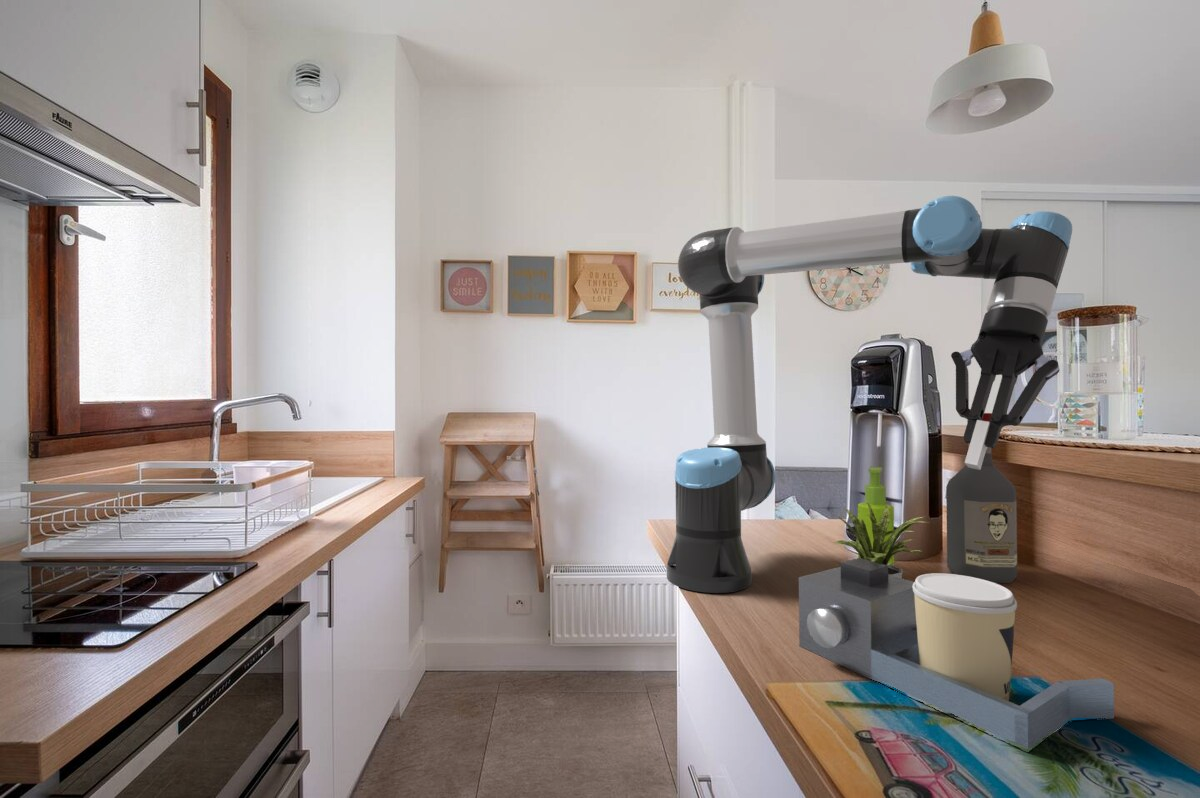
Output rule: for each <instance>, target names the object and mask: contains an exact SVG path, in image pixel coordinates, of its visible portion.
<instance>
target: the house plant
mask: <svg viewBox="0 0 1200 798" xmlns="http://www.w3.org/2000/svg"><path fill="white" fill-rule="evenodd" d="M867 503H868V502H867ZM868 507H869V511H870V515H867V516H869V517H870V519H871V522H872V532H873V538H874V541H873V549H872V546H871V542H870V538H869V535H868V532H867V529H866V525H865V523H864V521H863V519H862V521H861V523H860V521H859V519H858V516H857V515H855V514H854V513H852V512H851V510H849V509H847V508H845V507H843V509H844V510H845V512H846V513H847V515H848V516H849V518H850V521H851V523H852V524H853V526H854V527H852V526H851V525H850V524H849V523H848V522H847V521H846V520H845V519H843V518H842V517H840V516H838V518H839V519H840V520H841V521H842V522H843V523H844V524H845V525H846V526H847V528H848V529H849V530H850V531H851V532H852V533H853V534H854V536H855V538H856V540H855V541H853V540H847V541H846V540H837V541H835V542H834V544H838V545H839V544H840V545H845V546H848V547H850V548H853V549H854V550H855V551H856V553H857V555H858V554H859V555H860V557H861V559H865V560H869V561H873V562H876V563H880V564H884V565H888V575H891V576H894V577H898V578H902V579H903V569H902V568H900V567H899V566H897V565H895V564H894V565H892V564H888V562H889V560H890V559H891V557H892V556H893V555H894V556H895V555H896V554H897V553H900V552H907V553H911V554H912V553H913V554H915V555H916V556H919V557H920V558H921V559H922V556H921V555H920V554H919V553H918V552H922V550H921V549H914V550H913V549H912V548H911V547H909V546H906V545H905V544H906V543H907V542H910V541H915V540H916V539H915V538H914V539H913V538H911V539H910V538H909V539H904V540H902V541H897V540H898V539H899V538H900V536H901V535H902V534H903V533H906V532H907V533H909V532H910V533H914V531H913V530H910V529H911V526H912V525H919V523H922V524H923V523H928V524H929V523H930V522H928V521H923V520H919V519H923V518H926V517H928V516H918V517H913V518H910V519H907V520H906V521H904V522H903V523H901V524H900V525H899V526H898V527H896V528H894V530H891V531H888V532H886V531H887V528H888V526H889V523H890V521H889V514H890V511H889V510H888V506H887V503H886V507H885V509H884V513H883V515H882V516H881V518H880V520H879V523H878V524H877V521H876V518H875V515H874V513H873V511H872V508H871V506H870V505H869V504H868ZM916 520H917V521H916ZM891 533H892V534H891ZM889 534H891V536H890V537H889V538H888V540H887V541H885V542H884V538H885V536H886V535H889ZM893 538H894V539H893ZM892 540H893V541H892ZM895 543H896V544H895ZM889 545H890V546H889ZM893 545H894V546H893ZM888 546H889V547H888ZM887 547H888V549H887ZM907 548H909V549H907ZM886 549H887V550H886ZM885 551H886V552H885ZM884 553H885V554H884ZM907 553H905V554H904V555H903V556H901V557H900V558H898V559H897V560H894V563H896V562H897V561H899V560H900V559H901V558H903V557H904V556H905V555H907Z"/></svg>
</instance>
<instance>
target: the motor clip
mask: <svg viewBox="0 0 1200 798" xmlns="http://www.w3.org/2000/svg"><path fill="white" fill-rule="evenodd" d="M914 582H915V581H912V580H907V579H904V578H903V577H902V578H898V577H894V576H891V575H888V565H884V564H880V563H876V562H873V561H869V560H865V559H861V558H858V557H857V558H854V559H849V560H846V561H841V562H840V566H838V567H834V568H830V569H826V570H822V571H818V572H815V573H810V574H806V575H803V576H799V577H798V621H799V622H798V625H799V626H798V627H799V628H798V632H799V633H798V634H799V635H798V636H799V642H798V643H799V644H798V645H799V647H801V648H803V649H805V650H807V651H809V652H812V653H813V654H816V655H818V656H821V657H822V658H825V659H827V660H829V661H831V662H833V663H834V664H837V665H839V666H841V667H843V668H845V669H848V670H850V671H852V672H854V673H857V674H859V675H860V676H863V677H865V678H867V679H868V680H871V679H872V680H871V681H873V680H876V681H878V682H881V683H884V684H887V685H889V686H891V687H894V688H896V689H898V690H900V691H902V692H906V693H908V694H910V695H912V696H914V697H916V698H918V699H921V700H923V701H925V702H927V703H929V704H932V705H934V706H936V707H938V708H942V709H943V710H945V711H947V712H950V713H952V714H954V715H955V716H958V717H960V718H962V719H964V720H966V721H967V722H970V723H971V724H974V725H975V726H977V727H980V728H982V729H985V730H986V731H989V732H991V733H993V734H996V735H998V736H1000V737H1003V738H1006V739H1008V740H1010V741H1013V742H1016V743H1017V744H1020V745H1021V746H1023V747H1025V748H1026V749H1029V748H1031V747H1032V746H1034V745H1035V744H1036V743H1038V742H1039V741H1040V740H1041V739H1043V738H1045V737H1046V736H1048V735H1049V734H1051V733H1052V732H1054V731H1056V730H1057V729H1059V728H1060V727H1061V726H1062V725H1063V724H1065V723H1066V722H1067V721H1068V720H1070V719H1073V718H1074V719H1075V718H1085V717H1086V718H1101V719H1100V720H1109V719H1115V687H1114V686H1115V683H1114V682H1112V681H1110V680H1108V679H1105V678H1104V677H1103V678H1102V677H1101V678H1089V679H1088V678H1087V679H1084V678H1083V679H1071V680H1069V679H1068V680H1059V681H1056V682H1055V683H1053V684H1051V685H1050V686H1048V687H1047V688H1045V689H1044V690H1042V691H1041V692H1039V693H1037V694H1036V695H1034V696H1033V697H1031V698H1029V699H1028V700H1027V701H1025V702H1023V703H1022V704H1020V705H1018V704H1016V703H1014V702H1012V701H1007V700H1004V699H1002V698H999V697H997V696H994V695H992V694H989V693H987V692H985V691H982V690H980V689H977V688H975V687H972V686H970V685H967V684H965V683H963V682H960V681H958V680H955V679H953V678H950V677H948V676H946V675H943V674H941V673H938V672H936V671H933V670H931V669H928V668H926V667H924V666H921V665H920V659H919V648H918V636H917V624H916V612H915V596H914V592H913V587H912V586H913V583H914ZM878 682H877V683H878ZM1102 718H1103V719H1102ZM1104 718H1105V719H1104Z"/></svg>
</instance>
